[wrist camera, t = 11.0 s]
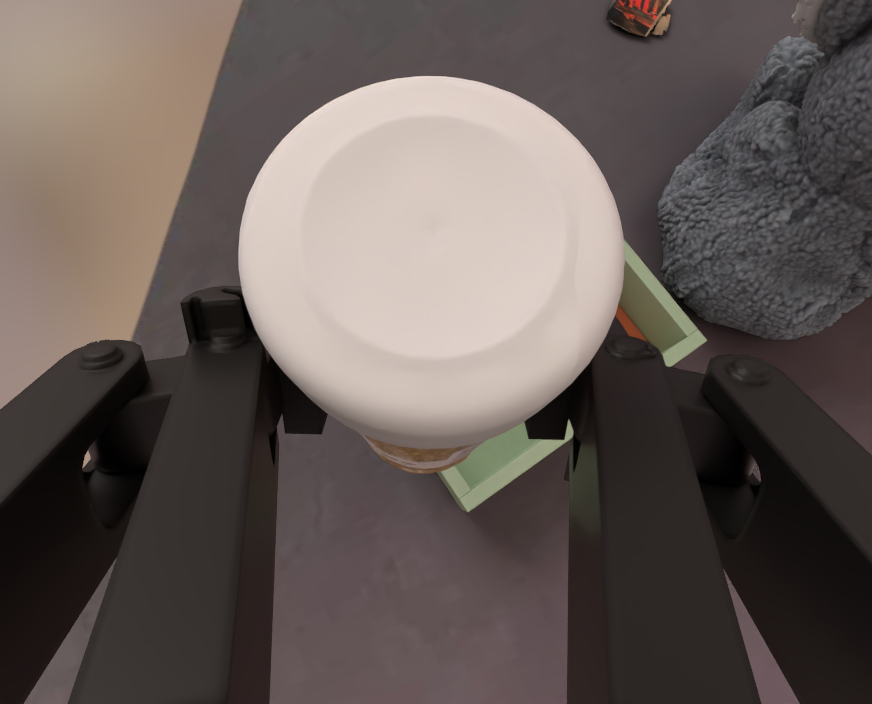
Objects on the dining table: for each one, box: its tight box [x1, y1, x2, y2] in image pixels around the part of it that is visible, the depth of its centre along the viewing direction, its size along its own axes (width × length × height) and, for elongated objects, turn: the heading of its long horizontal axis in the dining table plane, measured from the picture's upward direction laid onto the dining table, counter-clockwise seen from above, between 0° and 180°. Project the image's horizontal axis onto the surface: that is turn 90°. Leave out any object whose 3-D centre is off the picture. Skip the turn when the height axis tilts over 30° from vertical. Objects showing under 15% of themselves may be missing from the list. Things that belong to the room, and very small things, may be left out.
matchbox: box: [606, 0, 671, 37], centre depth 41 cm, size 5×5×1 cm
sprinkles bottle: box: [238, 76, 625, 474], centre depth 13 cm, size 5×5×14 cm
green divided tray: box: [437, 239, 707, 512], centre depth 32 cm, size 9×16×5 cm, turn 124°
